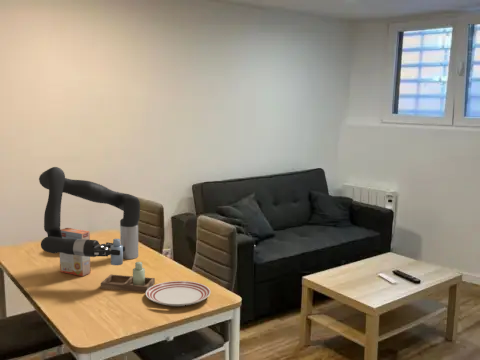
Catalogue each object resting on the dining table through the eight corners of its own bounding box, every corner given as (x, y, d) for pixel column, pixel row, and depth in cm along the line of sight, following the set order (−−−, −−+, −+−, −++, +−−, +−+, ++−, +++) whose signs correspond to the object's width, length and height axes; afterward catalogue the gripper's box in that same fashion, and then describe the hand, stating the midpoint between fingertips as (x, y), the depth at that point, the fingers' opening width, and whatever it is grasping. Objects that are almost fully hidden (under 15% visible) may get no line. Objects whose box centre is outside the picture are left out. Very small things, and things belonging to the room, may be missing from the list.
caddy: (110, 280, 233) (110, 274, 233) (154, 284, 230) (154, 278, 230) (100, 289, 223) (100, 283, 222) (146, 293, 220) (146, 287, 219)
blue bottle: (113, 261, 228) (113, 237, 227) (124, 262, 228) (124, 238, 226) (108, 264, 223) (108, 240, 222) (120, 265, 223) (120, 241, 221)
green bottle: (135, 284, 229) (135, 260, 227) (146, 285, 228) (146, 261, 226) (131, 288, 224) (131, 264, 222) (142, 289, 223) (142, 265, 221)
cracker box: (91, 273, 243) (90, 230, 239) (82, 277, 237) (81, 233, 234) (68, 268, 248) (67, 226, 245) (59, 272, 243) (58, 229, 240)
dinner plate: (139, 290, 223) (139, 283, 223) (198, 283, 234) (198, 276, 233) (154, 315, 198) (154, 307, 198) (219, 306, 209) (220, 298, 209)
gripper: (78, 244, 219) (116, 247, 217) (93, 235, 233) (128, 238, 231) (78, 260, 220) (116, 264, 218) (93, 251, 234) (128, 254, 232)
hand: (122, 250), depth 224 cm, fingers closed on blue bottle, 5 cm apart
